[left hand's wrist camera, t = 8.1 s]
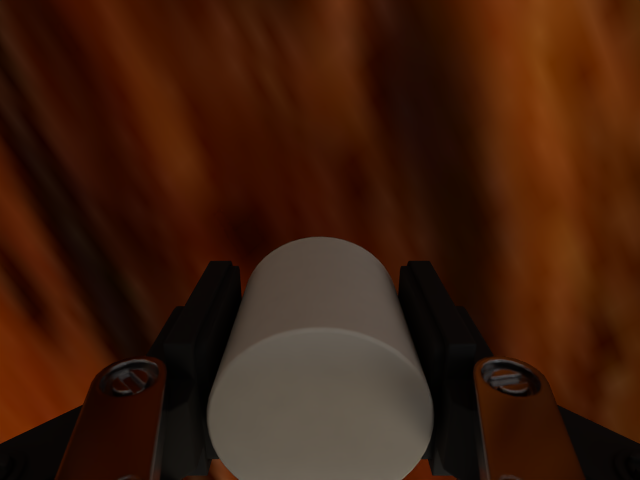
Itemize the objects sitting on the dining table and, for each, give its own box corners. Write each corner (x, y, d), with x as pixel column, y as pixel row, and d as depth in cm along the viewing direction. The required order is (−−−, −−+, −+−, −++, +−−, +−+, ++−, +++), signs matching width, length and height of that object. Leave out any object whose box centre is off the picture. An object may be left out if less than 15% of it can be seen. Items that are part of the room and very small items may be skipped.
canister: (237, 359, 13) (198, 495, 9) (252, 224, 12) (214, 312, 7) (379, 378, 13) (405, 519, 9) (412, 248, 12) (462, 347, 8)
